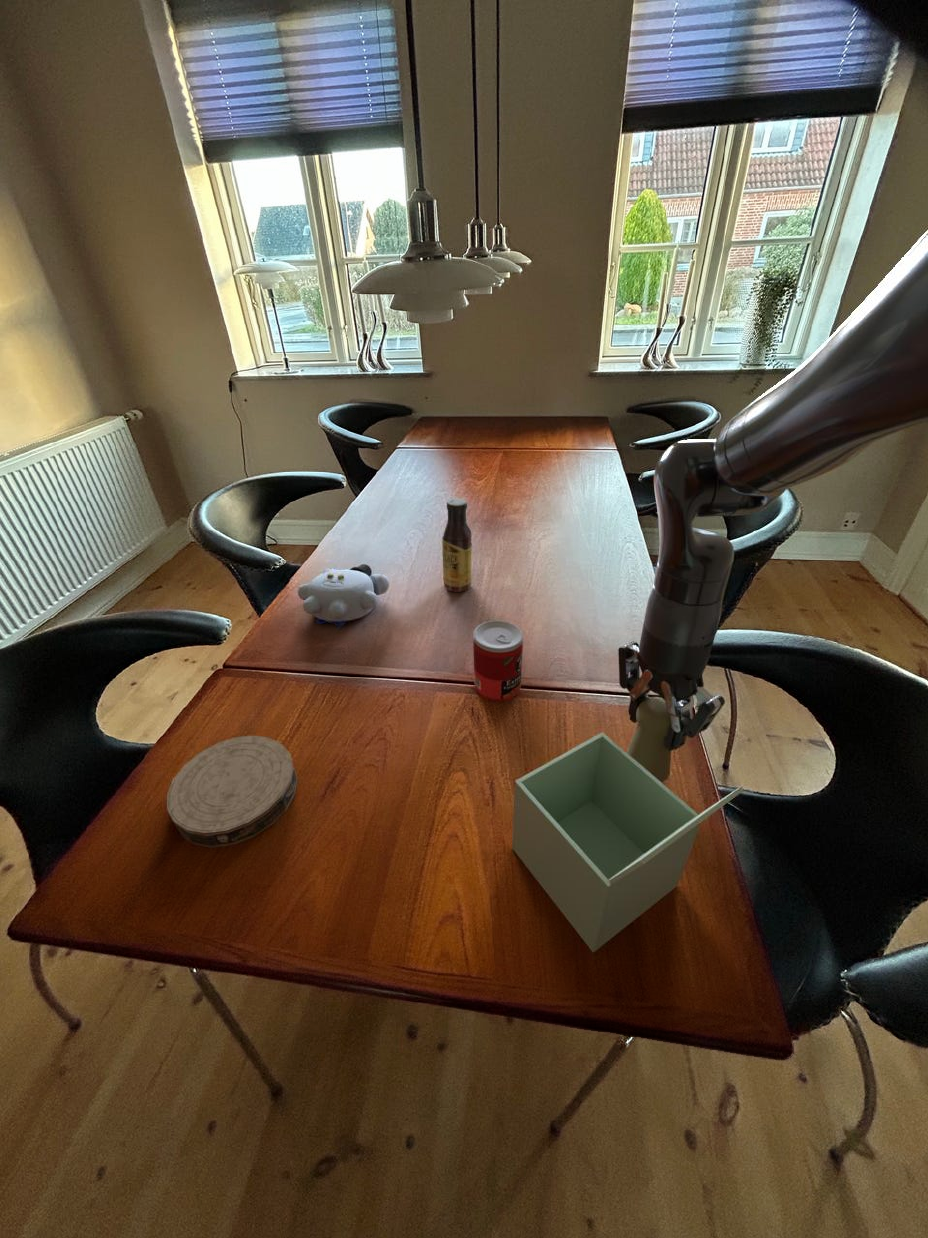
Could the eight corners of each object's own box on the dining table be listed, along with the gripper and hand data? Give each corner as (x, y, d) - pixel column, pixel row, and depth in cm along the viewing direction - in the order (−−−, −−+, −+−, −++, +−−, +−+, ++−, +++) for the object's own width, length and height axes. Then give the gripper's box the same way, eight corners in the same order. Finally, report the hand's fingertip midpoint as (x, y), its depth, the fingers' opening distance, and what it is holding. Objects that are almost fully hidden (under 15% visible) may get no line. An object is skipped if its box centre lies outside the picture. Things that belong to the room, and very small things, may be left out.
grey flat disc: (183, 764, 77) (176, 749, 75) (296, 739, 80) (291, 725, 79) (163, 862, 64) (155, 848, 62) (298, 828, 68) (293, 813, 66)
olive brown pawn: (625, 781, 70) (637, 720, 63) (621, 747, 74) (632, 687, 68) (673, 787, 69) (690, 725, 63) (666, 751, 74) (681, 691, 67)
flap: (702, 812, 53) (705, 815, 53) (608, 880, 47) (611, 885, 47) (740, 786, 47) (744, 790, 47) (639, 860, 42) (643, 864, 42)
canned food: (509, 709, 84) (511, 654, 78) (465, 693, 88) (463, 640, 81) (528, 680, 90) (531, 627, 84) (486, 667, 93) (485, 615, 87)
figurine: (363, 637, 101) (403, 594, 118) (359, 597, 97) (400, 558, 114) (284, 625, 105) (332, 585, 122) (276, 586, 101) (328, 550, 118)
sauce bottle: (438, 585, 117) (432, 500, 106) (460, 576, 120) (457, 492, 109) (456, 597, 113) (452, 509, 102) (478, 587, 116) (477, 501, 105)
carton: (677, 885, 60) (702, 817, 53) (593, 953, 54) (608, 887, 47) (591, 798, 70) (602, 732, 63) (512, 848, 64) (514, 781, 57)
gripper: (608, 605, 62) (593, 712, 72) (714, 669, 52) (680, 783, 61) (652, 587, 65) (632, 691, 75) (760, 643, 55) (721, 756, 64)
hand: (654, 732), depth 68 cm, fingers closed on olive brown pawn, 5 cm apart
